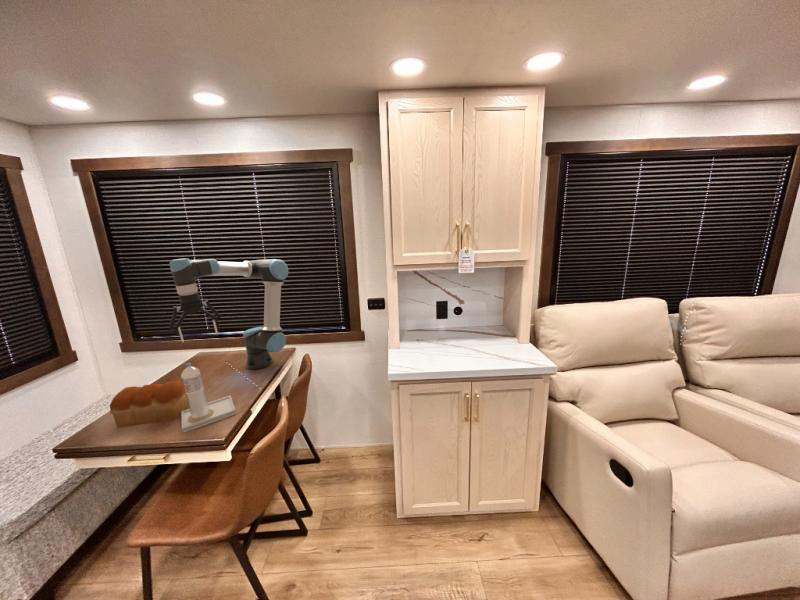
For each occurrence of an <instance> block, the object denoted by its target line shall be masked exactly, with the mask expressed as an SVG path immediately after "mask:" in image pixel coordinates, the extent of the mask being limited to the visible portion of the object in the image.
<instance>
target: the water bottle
mask: <svg viewBox="0 0 800 600" xmlns="http://www.w3.org/2000/svg"><path fill="white" fill-rule="evenodd" d="M185 367H186V368H185V369H183V370H182V373H181V375H180V377H181V380H182V383H183V384H184V388H185V394H186V397H187V401H188V405H189V406H188V409H190V413H191V417H192V418H193V419H195V420H197V419H201V418H204V417H206V416H207V415H208V414H209V407H208V399H207V395H206V392H205V391H206V389H205V387H204V384H203V380H202V375H201V370H200V369H199V368H198V367H195V366H192V363H191V362H189V363H186V364H185Z"/></svg>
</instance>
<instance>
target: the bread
mask: <svg viewBox="0 0 800 600" xmlns="http://www.w3.org/2000/svg"><path fill="white" fill-rule="evenodd" d="M188 408H189V405H188V401H187V397H186V394H185V388H184V384H183V381H179V380H171V381H166V382H164V383H163V384H162V383H151V384H150V383H149V384H144V385H143V386H128V387H127V386H126V387H124V388H123V389H122V390H120V391H119V392H118V393H117V394H116V395H115V396H114V397H113V398H112V400H111V402H110V404H109V410H110V414H111V415H112V416H113V419H114V422H115V425H116V428H124V427H130V426H138V425H143V424H144V425H145V424H150V423H157V422H162V421H168V420H176V419H179V417H180V416H182V415H181V411H184V410H187V409H188Z"/></svg>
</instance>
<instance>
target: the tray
mask: <svg viewBox="0 0 800 600" xmlns="http://www.w3.org/2000/svg"><path fill="white" fill-rule="evenodd" d="M207 403H208V407H209V414H208V415H207V416H206V417H204V418H201V419H197V420H195V419H193V418H192V417H191V413H190V409H189V408H186V409H185V410H184V411H181V415H180V416H181V432H182V434H184V433H187V432H190V431H192V430H194V429H195V430H196V429H198V428H200V427H204V426H206V425H210V424H211V423H214V422H218V421H221V420H223V419H225V418H228V417H232V416H233V415H237V412H236V408H235V405H234V401H233V398H232V396H231V395H227V396H224V397H220V398H219V399H215V400H212V401H207Z"/></svg>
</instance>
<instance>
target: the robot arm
mask: <svg viewBox="0 0 800 600" xmlns="http://www.w3.org/2000/svg"><path fill="white" fill-rule="evenodd" d="M169 267H170V272H171V275H172V278H173V281H174V285H175V288H176V292H177V295H178V300H179V302H180V306H173V308H172V309H173V312H172V315H171V319H170V323H169V325H168V327H169V328H168V329H170V330H174V331H175V335H176V336H177V337H179V336H180V341H181V343H184V342H185V340H184V336H183V333H182V330H181V327H180V326H181V324H182V323H183V322H184V319H185V318H186V316H187V315H192V314H197V313H199V312H200V313H202V314H203V315H206V316H207V317H209V318H211V319H212V323H213V327H214V331H215V334H216V335H218V334H219V333H218V329H217V327H219V326H220V325H219V319H221V318H222V315H221V314H220V313H219V312H218V311H217V310H216V309H215V308H214V306H212V305H211V303H210V301H209V300H208V299H207V300H204V301H201V297H200V293H199V292H198V290H199V289H198V285H197V283H196V282H197V281H196V279H199V278H205V277H210V276H213V277H214V276H215V277H217V276H219V277H220V276H222V277H223V276H224V277H227V276H229V277H230V276H231V277H232V276H237V277H238V276H243V277H245V278H253V279H260V280H262V281H261V283H262V284H264V310H263V326H257V327H252V328H248V329H246V330H245V331H244V332H243V334H242V337H243V339H244V340H243V342H244V345H245V350H246V361H245V365H246V369H248V370H260V369H263V368H267V367H268V366H271V365H272V364H273V363H274V360H273V357H272V355H271V353H278V352H280V351H282V350H283V348H284V347H285V346H286V343H287V336H286V335H285V334H284V333H283V328H282V327H281V326H280V325H281V324H280V323H281V317H280V316H281V297H282V296H281V295H282V294H281V293H282V285H283V284H285V281H284V280H285V279H287V277H288V276H289V267H288V265H287V263H285V261H284V260H282V259H276V258H271V259H256V260H255V259H254V260H243V262H239V261H238V262H237V261H218V260H217V259H215V258H207V259H206V258H205V259H194V260H193V259H191V260H190V259H189V258H177V259H172V260H170V261H169ZM203 305H204V306H206V307H208V308H209V310H210V311H212V313H214V315H213V314H212V313H210V312H209V311H207V310H205V309H204V308H203ZM180 310H182V311H183V312H182V314H181V315H180V317H179V319H177V320H178V321H177V322H176V324H175V321H176V318H177V315H178V312H179V311H180Z"/></svg>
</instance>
